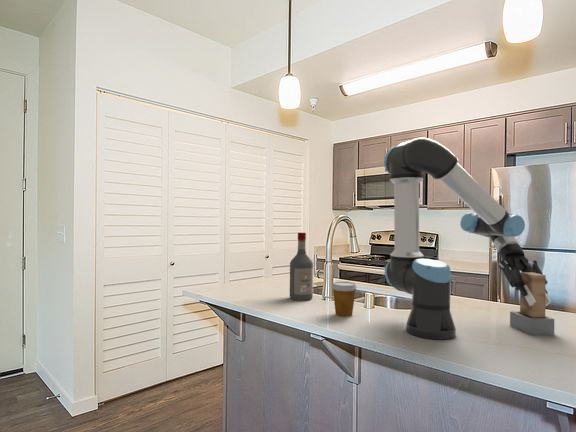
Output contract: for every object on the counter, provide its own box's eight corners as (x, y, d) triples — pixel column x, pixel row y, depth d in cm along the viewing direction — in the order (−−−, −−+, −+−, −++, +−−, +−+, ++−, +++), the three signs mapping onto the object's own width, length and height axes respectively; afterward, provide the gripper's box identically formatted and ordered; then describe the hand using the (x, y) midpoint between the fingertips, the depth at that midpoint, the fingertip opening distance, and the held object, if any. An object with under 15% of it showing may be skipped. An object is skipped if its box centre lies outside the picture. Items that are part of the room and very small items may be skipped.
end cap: (509, 325, 132) (510, 311, 132) (532, 325, 133) (533, 311, 133) (529, 334, 122) (529, 319, 122) (554, 334, 123) (554, 319, 123)
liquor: (314, 300, 169) (315, 233, 168) (295, 301, 165) (296, 233, 165) (305, 295, 177) (306, 232, 177) (287, 297, 173) (288, 232, 173)
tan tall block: (520, 312, 131) (520, 272, 130) (532, 312, 131) (532, 272, 131) (532, 317, 125) (532, 275, 124) (545, 317, 125) (545, 275, 125)
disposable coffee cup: (361, 314, 144) (361, 283, 144) (347, 319, 137) (347, 286, 137) (340, 310, 151) (341, 280, 151) (326, 314, 144) (326, 283, 144)
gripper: (526, 255, 143) (559, 309, 127) (481, 255, 142) (509, 309, 126) (536, 242, 138) (572, 297, 122) (490, 242, 137) (520, 297, 121)
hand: (540, 303), depth 124 cm, fingers closed on tan tall block, 4 cm apart
